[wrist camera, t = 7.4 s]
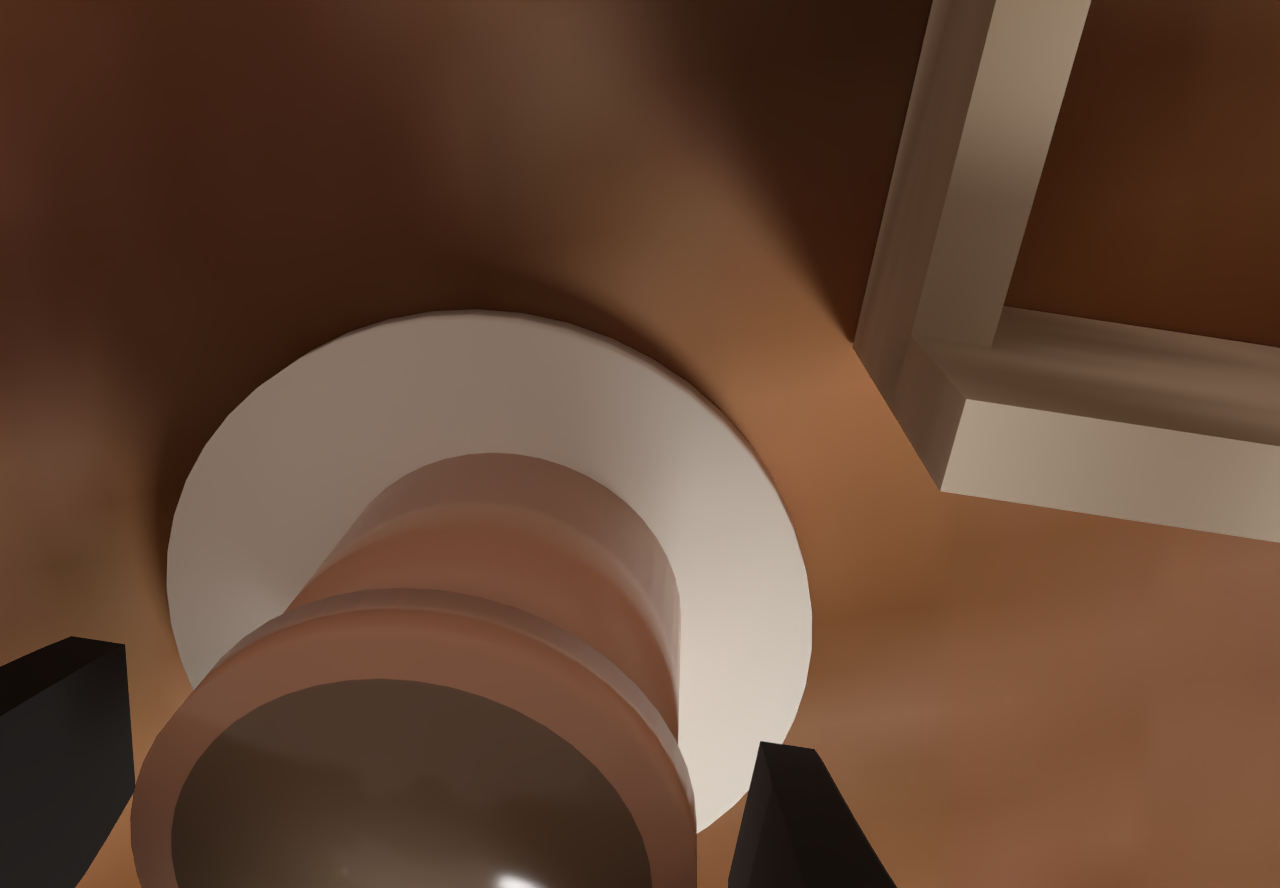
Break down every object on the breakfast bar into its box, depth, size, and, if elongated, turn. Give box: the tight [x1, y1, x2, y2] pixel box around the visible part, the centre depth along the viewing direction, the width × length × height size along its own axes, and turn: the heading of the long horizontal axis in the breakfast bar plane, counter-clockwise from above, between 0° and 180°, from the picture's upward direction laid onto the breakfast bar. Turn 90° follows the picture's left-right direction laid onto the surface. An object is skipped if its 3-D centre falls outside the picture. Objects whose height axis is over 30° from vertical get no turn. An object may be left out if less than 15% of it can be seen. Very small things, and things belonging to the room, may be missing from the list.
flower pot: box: [130, 453, 697, 888], centre depth 11 cm, size 5×5×5 cm
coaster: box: [167, 309, 812, 833], centre depth 13 cm, size 9×9×1 cm
